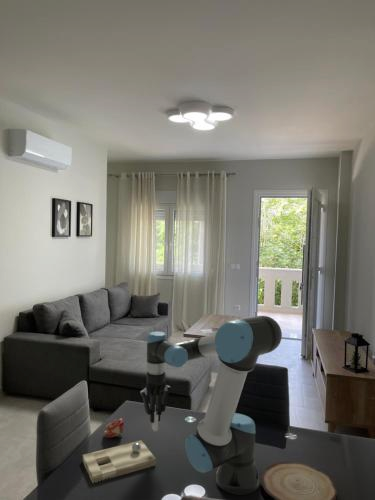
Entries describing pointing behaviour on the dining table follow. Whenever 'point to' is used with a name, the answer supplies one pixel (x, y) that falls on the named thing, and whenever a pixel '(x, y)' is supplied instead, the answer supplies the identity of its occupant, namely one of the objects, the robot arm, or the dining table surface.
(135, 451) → the ball
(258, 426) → the dining table surface
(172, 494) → the dining table surface
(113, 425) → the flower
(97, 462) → the wooden board with hole
